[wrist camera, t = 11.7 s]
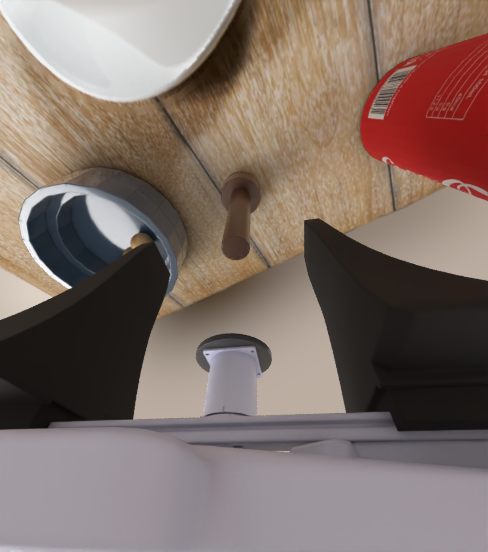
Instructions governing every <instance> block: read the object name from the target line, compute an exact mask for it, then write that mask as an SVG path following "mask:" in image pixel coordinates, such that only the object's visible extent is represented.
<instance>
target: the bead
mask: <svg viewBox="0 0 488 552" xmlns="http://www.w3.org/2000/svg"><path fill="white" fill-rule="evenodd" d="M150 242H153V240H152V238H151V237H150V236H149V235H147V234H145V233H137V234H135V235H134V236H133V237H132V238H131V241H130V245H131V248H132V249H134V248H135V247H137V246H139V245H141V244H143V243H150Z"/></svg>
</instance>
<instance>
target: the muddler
mask: <svg viewBox="0 0 488 552" xmlns="http://www.w3.org/2000/svg"><path fill="white" fill-rule="evenodd" d="M221 199H222V203H223V205H224V207H225V208H226V210H228V214H227V219H226V224H225V229H224V235H223V240H222V245H221V250H222V252H223V254H224V255H225V256H226V257H227V258H229V259H232V260H240V259H243V258H245V257H246V256H247V255H248V253H249V251H250V214H251V213H252V212H254V211H255V210H256V209H257V207H258V205H259V203H260V187H259V183H258V181H257V180H256V179H255V178H254V177H253V176H252V175H251V174H249V173H246V172H237V173H234V174H232V175H230V176H229V177H228V178H227V179H226V181H225V183H224V185H223V189H222V193H221Z"/></svg>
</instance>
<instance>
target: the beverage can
mask: <svg viewBox="0 0 488 552" xmlns="http://www.w3.org/2000/svg"><path fill="white" fill-rule="evenodd" d="M360 135H361V140H362V143H363V146H364V148H365V149H366V151H367V152H368V153H369V154H370V155H371V156H372V157H373V158H376V159H378V160H380V161H382V162H385V163H388V164H390V165H393V166H396V167H398V168H401V169H404V170H406V171H409V172H412V173H414V174H417V175H420V176H422V177H425V178H428V179H430V180H433V181H436V182H438V183H441V184H444V185H446V186H449V187H452V188H455V189H457V190H460V191H462V192H465V193H468V194H470V195H474V196H476V197H478V198H481V199H484V200H487V201H488V33H487V34H484V35H481V36H478V37H475V38H472V39H469V40H465V41H462V42H459V43H456V44H453V45H450V46H447V47H444V48H441V49H438V50H434V51H431V52H428V53H425V54H422V55H419V56H416V57H413V58H410V59H407V60H406V61H404V62H402V63H400V64H398V65H397V66H395V67H394V68H393V69H392V70H390V71H389V72H388V73H387V74H386V75H385V76H384V77H383V78H382V79H381V80H380V81H379V82H378V84H377V85H376V86H375V88H374V89H373V90H372V92H371V94H370V96H369V98H368V99H367V101H366V104H365V107H364V109H363V112H362V117H361V121H360Z"/></svg>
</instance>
